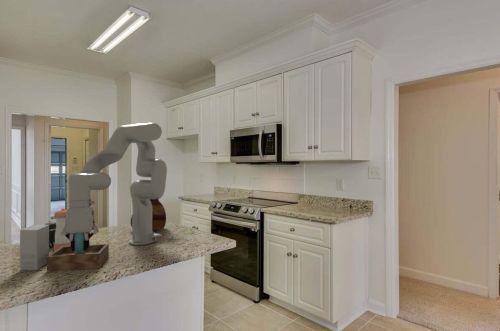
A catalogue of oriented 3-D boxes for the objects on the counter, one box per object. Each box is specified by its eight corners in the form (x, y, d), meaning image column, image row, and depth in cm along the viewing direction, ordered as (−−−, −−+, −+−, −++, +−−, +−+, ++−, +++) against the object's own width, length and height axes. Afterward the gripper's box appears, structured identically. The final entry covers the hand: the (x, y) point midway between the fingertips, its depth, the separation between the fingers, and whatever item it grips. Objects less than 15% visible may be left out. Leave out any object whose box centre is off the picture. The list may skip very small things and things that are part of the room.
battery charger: (44, 249, 137) (44, 224, 137) (42, 247, 139) (42, 223, 139) (61, 245, 142) (61, 222, 142) (59, 244, 145) (58, 221, 145)
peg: (86, 258, 120) (86, 228, 120) (83, 261, 117) (83, 231, 116) (76, 258, 120) (76, 229, 119) (73, 261, 116) (72, 231, 116)
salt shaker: (52, 252, 132) (52, 210, 131) (55, 248, 138) (54, 207, 138) (71, 250, 135) (71, 208, 135) (73, 246, 142) (72, 206, 141)
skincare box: (33, 263, 118) (33, 224, 118) (50, 262, 119) (50, 224, 119) (18, 270, 110) (18, 229, 110) (37, 270, 111) (37, 229, 110)
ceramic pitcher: (165, 233, 168) (165, 180, 167) (127, 235, 163) (127, 181, 163) (167, 226, 187) (167, 178, 186) (133, 227, 183) (133, 179, 182)
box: (108, 256, 127) (108, 243, 127) (99, 268, 113) (99, 253, 113) (62, 259, 123) (62, 246, 123) (46, 271, 109) (46, 256, 109)
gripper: (104, 202, 123) (105, 245, 124) (60, 203, 120) (60, 248, 120) (99, 204, 116) (99, 251, 116) (52, 206, 112) (52, 254, 113)
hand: (80, 249), depth 118 cm, fingers closed on peg, 3 cm apart
